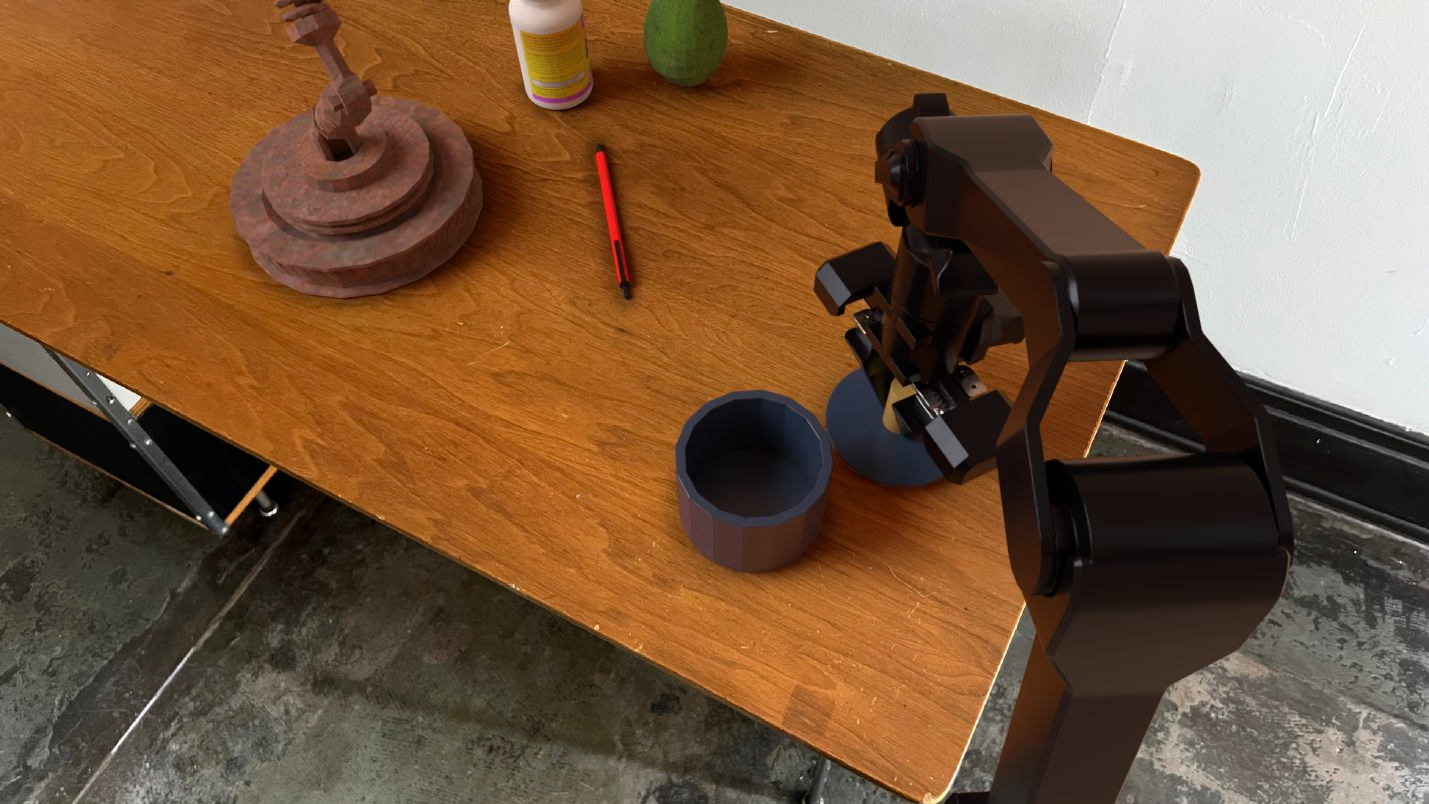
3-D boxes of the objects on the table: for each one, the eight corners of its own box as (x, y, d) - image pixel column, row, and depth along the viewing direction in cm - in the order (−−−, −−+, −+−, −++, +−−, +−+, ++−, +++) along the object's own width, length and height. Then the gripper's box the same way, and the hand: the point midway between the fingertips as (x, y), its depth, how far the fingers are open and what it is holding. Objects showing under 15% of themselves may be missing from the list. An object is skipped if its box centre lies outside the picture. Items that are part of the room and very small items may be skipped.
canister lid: (997, 456, 72) (1016, 416, 68) (871, 515, 70) (882, 478, 65) (918, 349, 78) (930, 306, 73) (798, 400, 75) (803, 359, 70)
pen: (622, 301, 81) (620, 293, 80) (594, 146, 91) (592, 137, 90) (632, 299, 81) (631, 291, 80) (603, 145, 91) (601, 136, 90)
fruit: (701, 114, 93) (699, 4, 83) (632, 88, 95) (621, -23, 85) (741, 68, 97) (743, -43, 87) (673, 43, 99) (667, -68, 89)
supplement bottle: (605, 98, 94) (589, -21, 84) (543, 122, 93) (519, 3, 82) (575, 60, 98) (557, -60, 87) (515, 82, 96) (488, -37, 85)
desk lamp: (387, 61, 98) (210, -443, 64) (548, 252, 84) (429, -266, 50) (184, 147, 91) (-131, -364, 58) (322, 370, 77) (10, -135, 44)
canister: (849, 535, 69) (861, 486, 63) (718, 596, 67) (718, 552, 60) (780, 424, 74) (785, 368, 68) (656, 477, 72) (650, 425, 65)
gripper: (1139, 349, 57) (1061, 475, 70) (960, 151, 66) (921, 296, 79) (982, 420, 54) (932, 538, 67) (818, 204, 63) (802, 345, 77)
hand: (898, 419), depth 73 cm, fingers closed on canister lid, 2 cm apart
